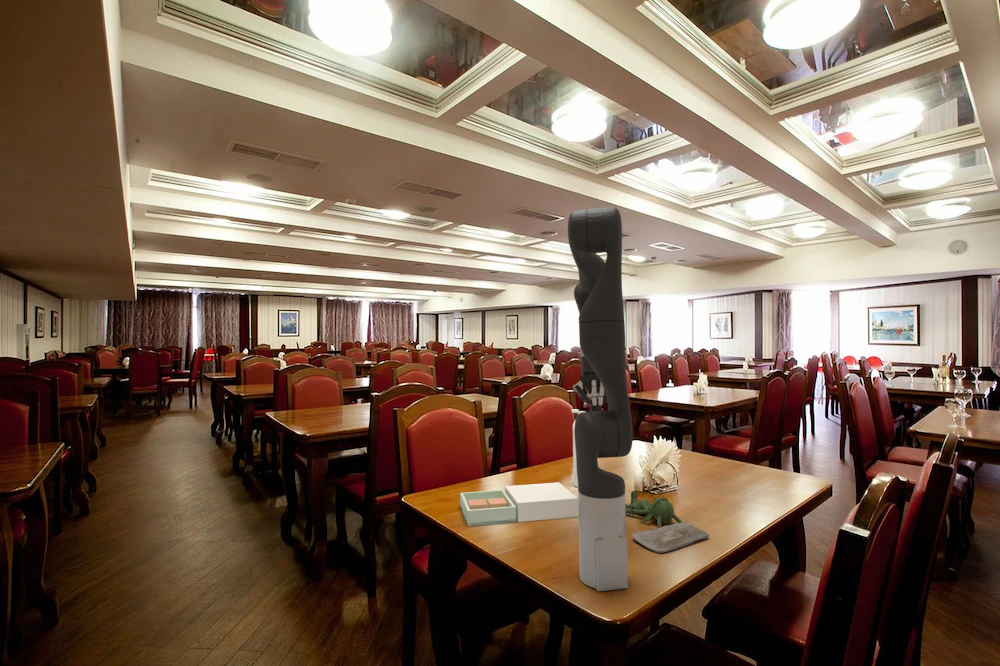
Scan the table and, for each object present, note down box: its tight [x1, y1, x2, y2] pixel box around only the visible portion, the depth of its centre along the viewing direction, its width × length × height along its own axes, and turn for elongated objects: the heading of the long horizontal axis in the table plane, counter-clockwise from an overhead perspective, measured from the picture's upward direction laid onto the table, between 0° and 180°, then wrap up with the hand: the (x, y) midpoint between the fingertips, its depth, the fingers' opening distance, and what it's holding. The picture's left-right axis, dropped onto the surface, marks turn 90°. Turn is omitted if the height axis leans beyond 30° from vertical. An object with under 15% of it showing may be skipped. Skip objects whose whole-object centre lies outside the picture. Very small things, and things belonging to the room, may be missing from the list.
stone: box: [632, 521, 710, 554], centre depth 112 cm, size 18×3×10 cm
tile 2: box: [487, 498, 508, 508], centre depth 132 cm, size 5×5×2 cm
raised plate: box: [504, 481, 579, 523], centre depth 134 cm, size 16×17×5 cm
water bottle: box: [571, 408, 586, 489], centre depth 159 cm, size 9×6×25 cm
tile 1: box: [467, 499, 488, 510], centre depth 131 cm, size 5×5×2 cm
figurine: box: [625, 490, 683, 528], centre depth 127 cm, size 11×8×19 cm
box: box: [459, 489, 517, 527], centre depth 131 cm, size 16×13×4 cm
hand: (596, 419), depth 126 cm, fingers closed
